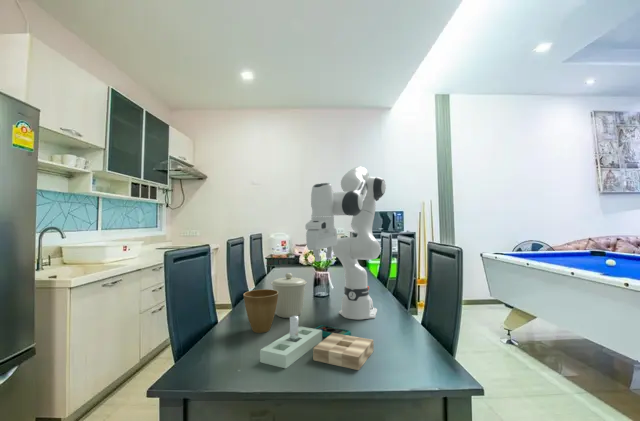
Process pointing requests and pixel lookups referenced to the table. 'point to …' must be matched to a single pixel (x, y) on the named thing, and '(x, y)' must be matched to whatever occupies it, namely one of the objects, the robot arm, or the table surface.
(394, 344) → the table surface
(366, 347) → the socket block
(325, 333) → the digital multimeter
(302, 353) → the block
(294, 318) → the steel peg
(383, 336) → the table surface
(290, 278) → the canister
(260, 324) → the plant pot
